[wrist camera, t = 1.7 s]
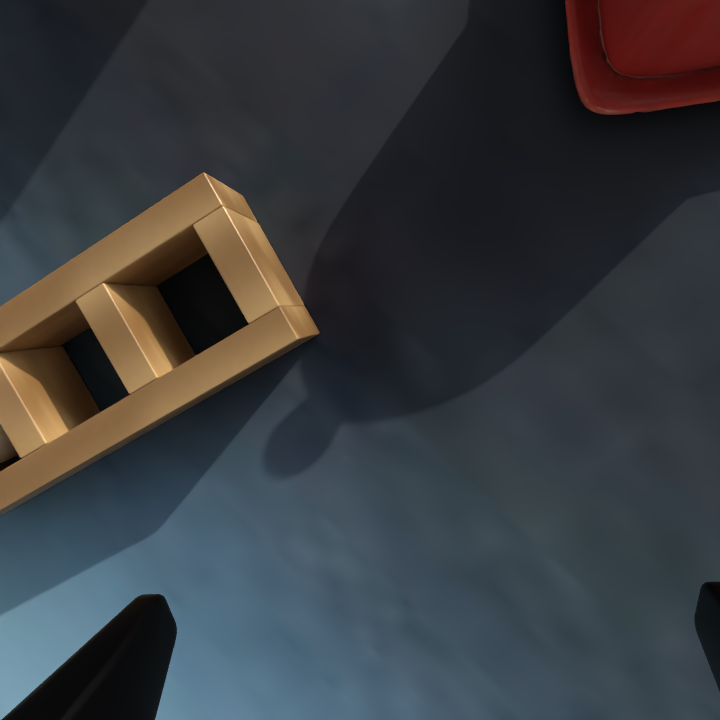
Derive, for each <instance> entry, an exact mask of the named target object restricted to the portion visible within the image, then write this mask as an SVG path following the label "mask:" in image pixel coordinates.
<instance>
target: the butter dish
mask: <svg viewBox="0 0 720 720" xmlns="http://www.w3.org/2000/svg"><path fill="white" fill-rule="evenodd" d="M565 5H566V17H567V27H568V40H569V46H570V58H571V64H572V67H573V76H574V80H575V85H576V88H577V91H578V94H579V97H580V100H581V101H582V103H583V104H584V106H585V107H586V108H587V109H589V110H590V111H592V112H595V113H599V114H604V115H618V114H629V113H634V112H651V111H655V110H662V109H667V108H675V107H682V106H688V105H694V104H702V103H709V102H716V101H720V0H565Z"/></svg>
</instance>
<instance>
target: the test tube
mask: <svg viewBox="0 0 720 720" xmlns="http://www.w3.org/2000/svg"><path fill="white" fill-rule="evenodd" d="M18 456H19V455H18V453H17V451H16V450H15V448H14V446H13V445H12V443H11V441H10V439H9V438H8V436H7V434H6V433H5V431H4V429H3V428H2V426H1V424H0V463H2V462H4V461H7V460H10V459H12V458H15V457H18Z"/></svg>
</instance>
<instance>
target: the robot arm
mask: <svg viewBox="0 0 720 720" xmlns="http://www.w3.org/2000/svg"><path fill="white" fill-rule="evenodd" d="M695 627H696V631H697V634H698V637H699V639H700V642H701V644H702V647H703V650H704V652H705V655H706V657H707V660H708V662H709V665H710V668H711V670H712V673H713V675H714V678H715V681H716V683H717V686H718V688H719V691H720V582H706V583H704V584H703V585H702V586H701V589H700V594H699V598H698V603H697V607H696V612H695ZM176 634H177V627H176V623H175V620H174V618H173V615H172V613H171V611H170V608H169V606H168V604H167V601H166V599H165V597H164V596H162V595H160V594H147V595H141V596H138V597H137V598H135V599H134V600H133V601H132V602H131V603H130V604H129V605H128V606H126V607H125V608H124V609H123V610H122V611H121V612H120V613H119V614H118V615H117V616H115V617H114V618H113V619H112V620H111V621H110V622H109V623H108V624H107V625H106V626H104V627H103V628H102V629H101V630H100V631H99V632H98V633H97V634H96V635H95V636H93V637H92V638H91V639H90V640H89V641H88V642H87V643H86V644H85V645H83V646H82V647H81V648H80V649H79V650H78V651H77V652H76V653H75V654H74V655H72V656H71V657H70V658H69V659H68V660H67V661H66V662H65V663H64V664H63V665H61V666H60V667H59V668H58V669H57V670H56V671H55V672H54V673H53V674H52V675H50V676H49V677H48V678H47V679H46V680H45V681H44V682H43V683H42V684H40V685H39V686H38V687H37V688H36V689H35V690H34V691H33V692H32V693H31V694H29V695H28V696H27V697H26V698H25V699H24V700H23V701H22V702H21V703H20V704H18V705H17V706H16V707H15V708H14V709H13V710H12V711H11V712H10V713H8V714H7V715H6V716H5V717H4V718H3V719H2V720H155V718H156V714H157V710H158V706H159V702H160V698H161V694H162V691H163V687H164V683H165V679H166V675H167V671H168V667H169V664H170V660H171V656H172V652H173V648H174V644H175V640H176Z"/></svg>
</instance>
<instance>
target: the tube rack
mask: <svg viewBox="0 0 720 720" xmlns="http://www.w3.org/2000/svg"><path fill="white" fill-rule="evenodd" d="M208 253H209V255H210V257H211V259H212V260H213V262H214V264H215V266H216V267H217V269H218V271H219V273H220V275H221V276H222V278H223V280H224V282H225V283H226V285H227V287H228V289H229V290H230V292H231V294H232V296H233V297H234V299H235V301H236V303H237V304H238V306H239V308H240V310H241V312H242V313H243V315H244V317H245V319H246V320H247V322H248V323H249V325H247V326H245V327H244V328H242V329H240V330H239V331H237V332H235V333H234V334H232V335H230V336H229V337H227V338H225V339H223V340H222V341H220V342H218V343H217V344H215V345H213V346H212V347H210V348H208V349H207V350H205V351H203V352H201V353H200V354H198V355H195V353H194V351H193V350H192V348H191V346H190V344H189V343H188V341H187V339H186V337H185V336H184V334H183V332H182V330H181V329H180V327H179V325H178V323H177V322H176V320H175V318H174V316H173V315H172V313H171V311H170V309H169V308H168V306H167V304H166V302H165V301H164V299H163V297H162V295H161V294H160V292H159V290H158V288H157V287H156V286H157V285H159V284H160V283H162V282H163V281H165V280H167V279H168V278H170V277H171V276H173V275H175V274H176V273H178V272H179V271H181V270H183V269H184V268H186V267H187V266H189V265H191V264H192V263H194V262H195V261H197V260H199V259H200V258H202V257H203V256H205V255H206V254H208ZM90 327H91V329H92V330H93V332H94V334H95V336H96V337H97V339H98V341H99V343H100V344H101V346H102V348H103V349H104V351H105V353H106V355H107V356H108V358H109V360H110V362H111V363H112V365H113V367H114V368H115V370H116V372H117V374H118V375H119V377H120V379H121V381H122V382H123V384H124V386H125V388H126V389H127V391H128V393H129V394H130V395H129V396H127V397H125V398H124V399H122V400H120V401H119V402H117V403H115V404H114V405H112V406H110V407H108V408H107V409H105V410H103V411H102V412H101V411H100V410H99V408H98V406H97V404H96V403H95V401H94V399H93V397H92V396H91V394H90V392H89V391H88V389H87V387H86V385H85V384H84V382H83V380H82V379H81V377H80V375H79V373H78V372H77V370H76V368H75V366H74V365H73V363H72V361H71V360H70V358H69V356H68V354H67V353H66V351H65V349H64V348H63V346H62V345H63V344H65V343H66V342H68V341H70V340H71V339H73V338H74V337H76V336H78V335H79V334H81V333H82V332H84V331H85V330H87V329H89V328H90ZM318 334H320V332H319V330H318V328H317V327H316V325H315V323H314V321H313V320H312V318H311V316H310V314H309V312H308V311H307V309H306V307H305V306H304V304H303V302H302V300H301V298H300V296H299V295H298V293H297V291H296V289H295V288H294V286H293V284H292V282H291V280H290V279H289V277H288V275H287V273H286V272H285V270H284V268H283V266H282V264H281V263H280V261H279V259H278V257H277V256H276V254H275V252H274V250H273V248H272V247H271V245H270V243H269V241H268V240H267V238H266V236H265V234H264V232H263V231H262V229H261V227H260V225H259V224H258V223H257V220H256V218H255V217H254V215H253V213H252V211H251V210H250V208H249V206H248V204H247V202H246V201H245V199H244V197H243V196H242V195H241V194H239V193H238V192H236V191H234V190H233V189H231V188H229V187H228V186H226V185H224V184H223V183H221V182H219V181H218V180H216V179H214V178H213V177H211V176H209V175H208V174H206V173H202V174H200V175H199V176H197V177H196V178H194V179H193V180H191V181H190V182H188V183H187V184H185V185H184V186H182V187H181V188H179V189H178V190H176V191H175V192H173V193H172V194H170V195H169V196H167V197H165V198H164V199H162V200H161V201H159V202H158V203H156V204H155V205H153V206H152V207H150V208H149V209H147V210H146V211H144V212H143V213H141V214H140V215H138V216H137V217H135V218H134V219H132V220H131V221H129V222H128V223H126V224H125V225H123V226H122V227H120V228H119V229H117V230H116V231H114V232H112V233H111V234H109V235H108V236H106V237H105V238H103V239H102V240H100V241H99V242H97V243H96V244H94V245H93V246H91V247H90V248H88V249H87V250H85V251H84V252H82V253H81V254H79V255H78V256H76V257H75V258H73V259H72V260H70V261H69V262H67V263H66V264H64V265H63V266H61V267H59V268H58V269H56V270H55V271H53V272H52V273H50V274H49V275H47V276H46V277H44V278H43V279H41V280H40V281H38V282H37V283H35V284H34V285H32V286H31V287H29V288H28V289H26V290H25V291H23V292H22V293H20V294H19V295H17V296H16V297H14V298H13V299H11V300H10V301H8V302H7V303H5V304H3V305H2V306H0V424H1V426H2V428H3V429H4V431H5V433H6V434H7V436H8V438H9V439H10V441H11V443H12V445H13V446H14V448H15V450H16V451H17V453H18V455H19V456H20V458H22V459H21V460H19V461H17V462H15V463H14V464H12V462H11V461H10V460H7V461H4V462H2V463H0V516H1V515H3V514H5V513H7V512H9V511H11V510H13V509H14V508H16V507H18V506H20V505H21V504H23V503H25V502H27V501H28V500H30V499H32V498H34V497H35V496H37V495H39V494H41V493H42V492H44V491H46V490H48V489H49V488H51V487H53V486H55V485H56V484H58V483H60V482H62V481H63V480H65V479H67V478H69V477H70V476H72V475H74V474H76V473H77V472H79V471H81V470H83V469H84V468H86V467H88V466H90V465H91V464H93V463H95V462H97V461H98V460H100V459H102V458H104V457H105V456H107V455H109V454H111V453H112V452H114V451H116V450H118V449H119V448H121V447H123V446H125V445H126V444H128V443H130V442H132V441H133V440H135V439H137V438H138V437H140V436H142V435H144V434H145V433H147V432H149V431H151V430H152V429H154V428H156V427H158V426H159V425H161V424H163V423H165V422H166V421H168V420H170V419H172V418H173V417H175V416H177V415H179V414H180V413H182V412H184V411H186V410H187V409H189V408H191V407H193V406H194V405H196V404H198V403H200V402H201V401H203V400H205V399H207V398H208V397H210V396H212V395H214V394H215V393H217V392H219V391H221V390H222V389H224V388H226V387H228V386H229V385H231V384H233V383H235V382H236V381H238V380H240V379H242V378H243V377H245V376H247V375H249V374H250V373H252V372H254V371H256V370H257V369H259V368H261V367H263V366H264V365H266V364H268V363H269V362H271V361H273V360H275V359H276V358H278V357H280V356H282V355H283V354H285V353H287V352H289V351H290V350H292V349H294V348H296V347H297V346H299V345H301V344H303V343H304V342H306V341H308V340H310V339H311V338H313V337H315V336H317V335H318Z"/></svg>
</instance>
